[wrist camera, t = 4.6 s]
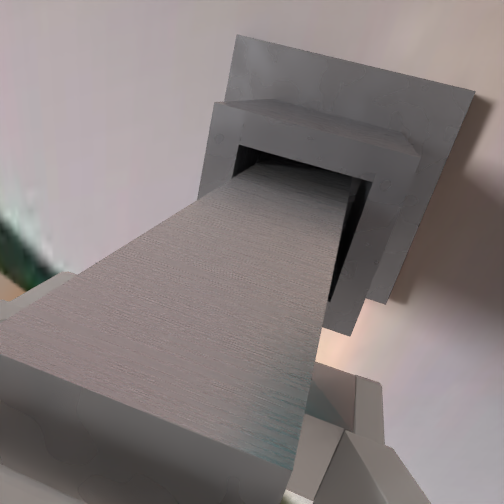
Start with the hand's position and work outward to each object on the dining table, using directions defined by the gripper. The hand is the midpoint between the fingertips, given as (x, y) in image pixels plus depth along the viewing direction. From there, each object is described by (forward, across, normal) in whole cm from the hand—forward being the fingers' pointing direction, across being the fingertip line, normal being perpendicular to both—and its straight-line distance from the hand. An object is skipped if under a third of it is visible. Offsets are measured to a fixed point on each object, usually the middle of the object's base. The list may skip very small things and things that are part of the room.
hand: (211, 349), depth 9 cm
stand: (+21, 0, 0) cm, 21 cm away
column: (+18, 0, 0) cm, 18 cm away
